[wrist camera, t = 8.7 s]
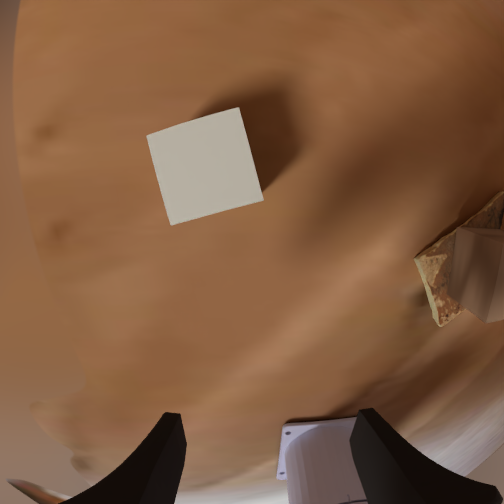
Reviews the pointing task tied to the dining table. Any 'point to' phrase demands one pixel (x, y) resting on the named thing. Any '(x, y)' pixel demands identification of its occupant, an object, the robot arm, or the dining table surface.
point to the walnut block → (479, 272)
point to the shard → (440, 261)
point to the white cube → (204, 166)
